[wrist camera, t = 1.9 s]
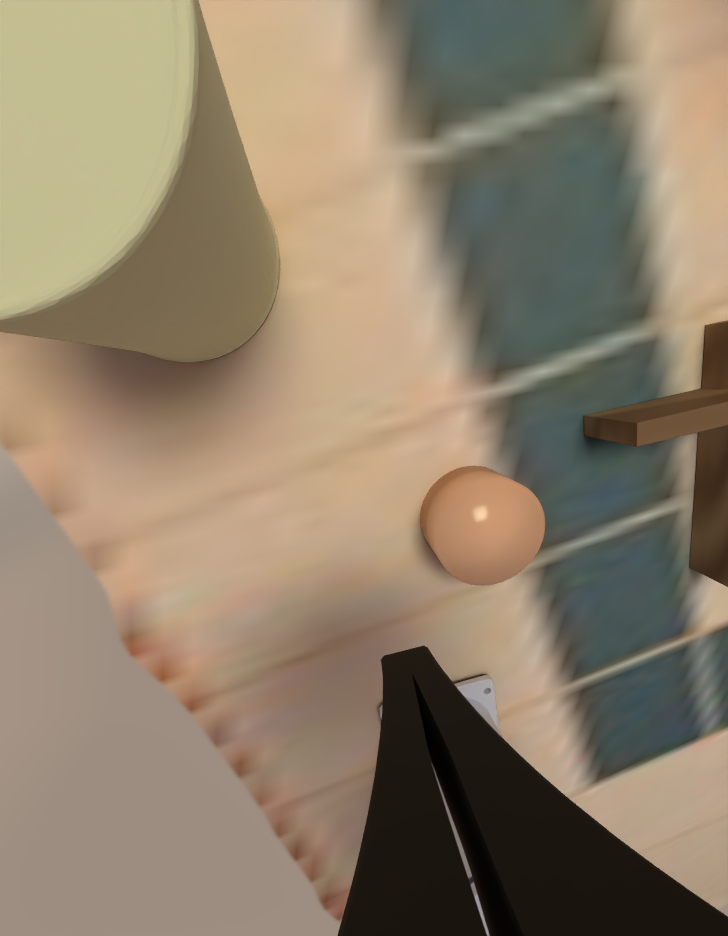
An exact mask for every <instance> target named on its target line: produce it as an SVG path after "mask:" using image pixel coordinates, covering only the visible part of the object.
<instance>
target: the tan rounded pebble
mask: <svg viewBox="0 0 728 936" xmlns="http://www.w3.org/2000/svg"><path fill="white" fill-rule="evenodd" d="M420 523H421V529H422V532H423V535H424V537H425V539H426V541H427V542H428V544H429V545H430V547H431V548H432V550H433V551H434V553H435V554H436V556H437V557H438V559H439V560H440V562H441V563H442V565H443V566H444V567H445V569H446V570H447V571H448V572H449V573H450V574H451V575H452V576H454V577H455V578H457V579H458V580H460V581H462V582H465V583H468V584H473V585H492V584H497V583H500V582H503V581H505V580H508V579H510V578H512V577H513V576H515V575H517V574H518V573H519V572H521V571H522V570H523V569H524V568H525V567H526V566H527V565H528V564H529V563H530V562H531V561H532V560H533V558H534V557H535V555H536V554H537V552H538V550H539V548H540V546H541V543H542V540H543V537H544V531H545V518H544V512H543V509H542V506H541V504H540V502H539V501H538V499H537V497H536V496H535V495H534V494H533V493H532V492H531V491H530V490H529V489H527V488H526V487H524V486H523V485H521V484H519V483H517V482H515V481H513V480H511V479H509V478H507V477H505V476H504V475H502V474H500V473H498V472H496V471H494V470H492V469H489V468H486V467H482V466H467V467H462V468H458V469H455V470H453V471H451V472H449V473H447V474H446V475H444V476H443V477H441V478H440V479H439V480H438V481H437V482H436V483H435V484H434V485H433V486H432V487H431V489H430V490H429V491H428V493H427V495H426V497H425V499H424V501H423V504H422V507H421V513H420Z"/></svg>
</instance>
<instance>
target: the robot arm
mask: <svg viewBox="0 0 728 936" xmlns="http://www.w3.org/2000/svg"><path fill="white" fill-rule="evenodd" d="M381 664H382V672H383V704H382V705H381V706H380V708H379V712H380V717H381V732H380V741H379V748H378V756H377V764H376V771H375V777H374V783H373V789H372V795H371V800H370V805H369V811H368V816H367V821H366V826H365V830H364V834H363V839H362V843H361V848H360V852H359V857H358V861H357V865H356V869H355V873H354V877H353V881H352V885H351V889H350V893H349V896H348V900H347V904H346V907H345V911H344V914H343V918H342V922H341V925H340V929H339V933H338V936H728V917H727V916H726V915H725V914H723V913H721V912H720V911H719V910H717V909H716V908H714V907H713V906H711V905H710V904H709V903H707V902H706V901H704V900H703V899H701V898H700V897H698V896H697V895H695V894H694V893H693V892H691V891H690V890H688V889H687V888H685V887H684V886H683V885H681V884H680V883H678V882H677V881H676V880H674V879H673V878H671V877H670V876H668V875H667V874H666V873H664V872H663V871H661V870H660V869H659V868H657V867H656V866H654V865H653V864H652V863H650V862H649V861H648V860H646V859H645V858H644V857H642V856H641V855H640V854H638V853H637V852H636V851H634V850H633V849H632V848H630V847H629V846H628V845H626V844H625V843H624V842H622V841H621V840H620V839H618V838H617V837H616V836H614V835H613V834H612V833H611V832H609V831H608V830H607V829H606V828H605V827H603V826H602V825H601V824H600V823H598V822H597V821H596V820H595V819H593V818H592V817H591V816H590V815H588V814H587V813H586V812H585V811H583V810H582V809H581V808H580V807H578V806H577V805H576V804H575V803H574V802H572V801H571V800H570V799H569V798H567V797H566V796H565V795H564V794H563V793H561V792H560V791H559V790H558V789H557V788H556V787H555V786H553V785H552V784H551V783H550V782H549V781H548V780H547V779H545V778H544V777H543V776H542V775H541V774H540V773H539V772H538V771H536V770H535V769H534V768H533V767H532V766H531V765H530V764H529V763H528V762H527V761H526V760H525V759H523V758H522V757H521V756H520V755H519V754H518V753H517V752H516V751H515V750H514V749H513V748H512V747H511V746H510V745H509V744H508V743H507V742H506V741H505V740H504V739H503V738H502V736H501V734H500V732H499V725H498V717H497V709H496V701H495V693H494V685H493V681H492V679H491V677H489V676H487V675H483V676H480V677H476V678H473V679H469V680H465V681H462V682H458V683H455V684H453V682H452V681H451V680H450V679H449V677H448V676H447V675H446V673H445V672H444V671H443V669H442V668H441V667H440V665H439V664H438V663H437V661H436V660H435V658H434V657H433V655H432V654H431V652H430V651H429V649H428V648H427V647H425V646H420V647H417V648H413V649H409V650H405V651H401V652H397V653H393V654H389V655H386V656H384V657H383V658H382V659H381Z"/></svg>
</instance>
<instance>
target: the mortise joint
mask: <svg viewBox="0 0 728 936" xmlns="http://www.w3.org/2000/svg"><path fill="white" fill-rule="evenodd" d="M696 432H699V433H698V448H697V464H696V479H695V494H694V509H693V524H692V539H691V554H690V568H691V569H693V570H695V571H697V572H699V573H701V574H703V575H705V576H707V577H709V578H711V579H713V580H715V581H717V582H719V583H721V584H723V585H725V586H727V587H728V321H723V322H718V323H714V324H709V325H706V328H705V343H704V358H703V373H702V388H701V389H697V390H693V391H689V392H684V393H680V394H676V395H671V396H667V397H663V398H658V399H654V400H650V401H645V402H641V403H637V404H632V405H628V406H624V407H619V408H615V409H611V410H606V411H602V412H598V413H593V414H589V415H584V436H589V437H594V438H598V439H603V440H608V441H613V442H617V443H622V444H627V445H631V446H636V447H638V446H642V445H646V444H650V443H654V442H658V441H663V440H667V439H671V438H675V437H679V436H683V435H688V434H692V433H696Z"/></svg>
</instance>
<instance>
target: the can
mask: <svg viewBox="0 0 728 936" xmlns="http://www.w3.org/2000/svg"><path fill="white" fill-rule="evenodd" d="M279 271H280V261H279V249H278V243H277V238H276V234H275V230H274V227H273V224H272V221H271V218H270V216H269V213H268V211H267V209H266V207H265V205H264V203H263V201H262V199H261V198H260V196H259V194H258V191H257V187H256V184H255V181H254V178H253V175H252V172H251V169H250V166H249V163H248V160H247V156H246V153H245V150H244V147H243V144H242V141H241V138H240V135H239V132H238V129H237V125H236V122H235V119H234V116H233V113H232V110H231V107H230V103H229V100H228V97H227V94H226V90H225V87H224V84H223V81H222V77H221V74H220V71H219V67H218V64H217V61H216V58H215V54H214V51H213V48H212V45H211V41H210V38H209V35H208V32H207V28H206V25H205V22H204V18H203V15H202V11H201V8H200V4H199V1H198V0H0V332H5V333H12V334H20V335H27V336H35V337H42V338H49V339H57V340H64V341H71V342H78V343H85V344H91V345H98V346H105V347H111V348H118V349H125V350H131V351H137V352H143V353H145V354H148V355H151V356H154V357H157V358H161V359H165V360H170V361H177V362H199V361H206V360H210V359H214V358H218V357H220V356H223V355H225V354H228V353H230V352H232V351H233V350H235V349H237V348H238V347H240V346H241V345H243V344H244V343H245V342H247V341H248V340H249V339H250V338H251V337H252V336H253V335H254V334H255V333H256V332H257V330H258V329H259V328H260V327H261V325H262V324H263V323H264V321H265V319H266V317H267V316H268V314H269V312H270V310H271V308H272V305H273V302H274V299H275V296H276V292H277V288H278V281H279Z"/></svg>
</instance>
